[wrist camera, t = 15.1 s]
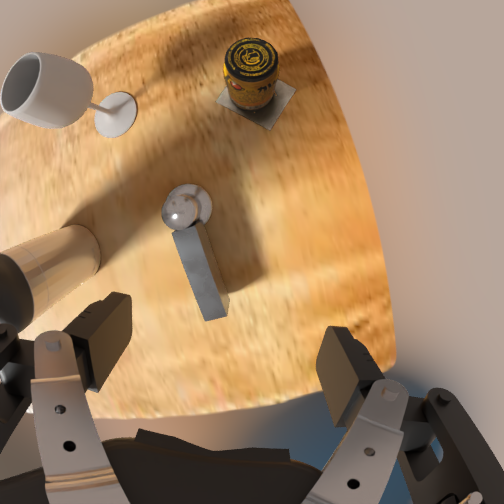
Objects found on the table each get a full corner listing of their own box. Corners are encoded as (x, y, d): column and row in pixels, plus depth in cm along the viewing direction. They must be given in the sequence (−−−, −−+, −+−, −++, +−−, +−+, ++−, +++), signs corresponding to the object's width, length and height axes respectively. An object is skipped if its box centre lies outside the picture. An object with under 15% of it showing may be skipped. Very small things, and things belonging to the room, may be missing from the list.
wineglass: (134, 84, 33) (51, 29, 13) (141, 130, 35) (48, 99, 15) (92, 101, 33) (-2, 69, 13) (97, 146, 35) (-6, 136, 15)
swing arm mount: (164, 225, 39) (162, 227, 37) (171, 180, 37) (168, 180, 36) (208, 233, 39) (207, 235, 38) (216, 187, 37) (215, 188, 36)
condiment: (242, 62, 33) (240, 21, 21) (296, 89, 34) (314, 57, 22) (215, 102, 34) (200, 72, 23) (269, 131, 35) (278, 111, 24)
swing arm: (168, 198, 36) (157, 202, 31) (196, 189, 36) (188, 191, 31) (206, 305, 40) (201, 322, 35) (233, 298, 40) (230, 315, 35)
